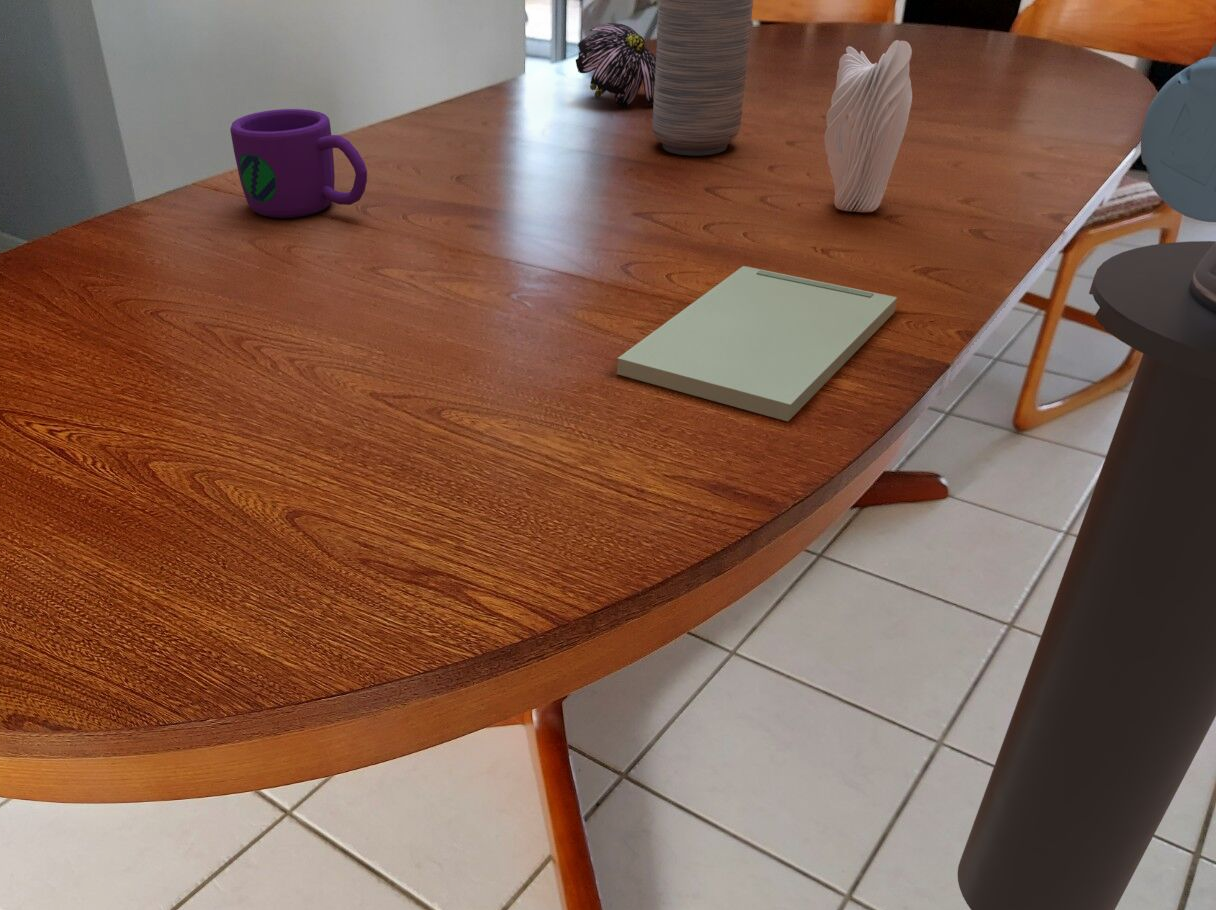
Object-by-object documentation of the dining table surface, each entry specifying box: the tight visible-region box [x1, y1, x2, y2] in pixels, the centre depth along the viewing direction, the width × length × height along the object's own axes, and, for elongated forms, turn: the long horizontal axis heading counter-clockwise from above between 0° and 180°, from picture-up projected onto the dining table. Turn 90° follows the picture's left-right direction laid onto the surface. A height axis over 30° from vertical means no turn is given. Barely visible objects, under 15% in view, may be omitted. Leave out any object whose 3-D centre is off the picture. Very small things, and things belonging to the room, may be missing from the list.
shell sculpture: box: [823, 39, 913, 213], centre depth 112 cm, size 8×8×18 cm
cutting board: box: [616, 265, 898, 423], centre depth 90 cm, size 24×15×2 cm, turn 144°
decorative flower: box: [575, 22, 656, 110], centre depth 160 cm, size 14×12×15 cm
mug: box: [230, 108, 368, 219], centre depth 120 cm, size 17×11×10 cm, turn 60°
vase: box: [651, 0, 754, 157], centre depth 133 cm, size 12×12×23 cm
